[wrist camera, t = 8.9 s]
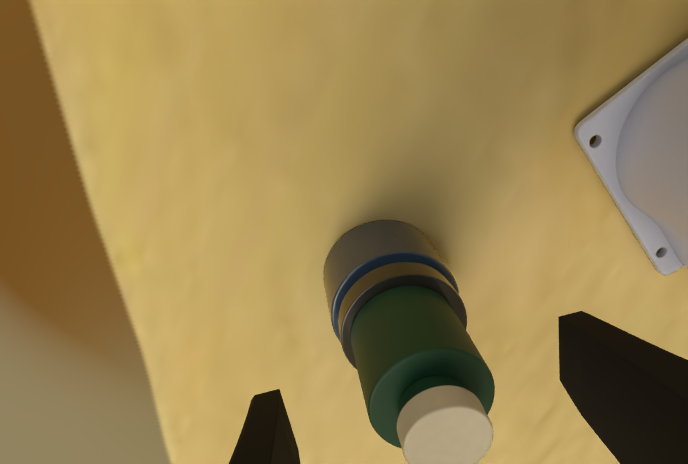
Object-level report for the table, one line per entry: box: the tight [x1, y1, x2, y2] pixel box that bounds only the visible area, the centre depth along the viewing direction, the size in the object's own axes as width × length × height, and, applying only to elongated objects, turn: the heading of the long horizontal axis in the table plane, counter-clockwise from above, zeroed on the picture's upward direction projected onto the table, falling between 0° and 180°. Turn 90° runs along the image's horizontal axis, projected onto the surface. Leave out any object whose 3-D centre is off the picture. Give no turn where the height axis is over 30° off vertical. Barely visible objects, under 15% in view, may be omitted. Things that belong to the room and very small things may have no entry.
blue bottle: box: [323, 220, 467, 369], centre depth 22 cm, size 5×5×5 cm
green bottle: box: [351, 285, 495, 464], centre depth 17 cm, size 4×4×5 cm
